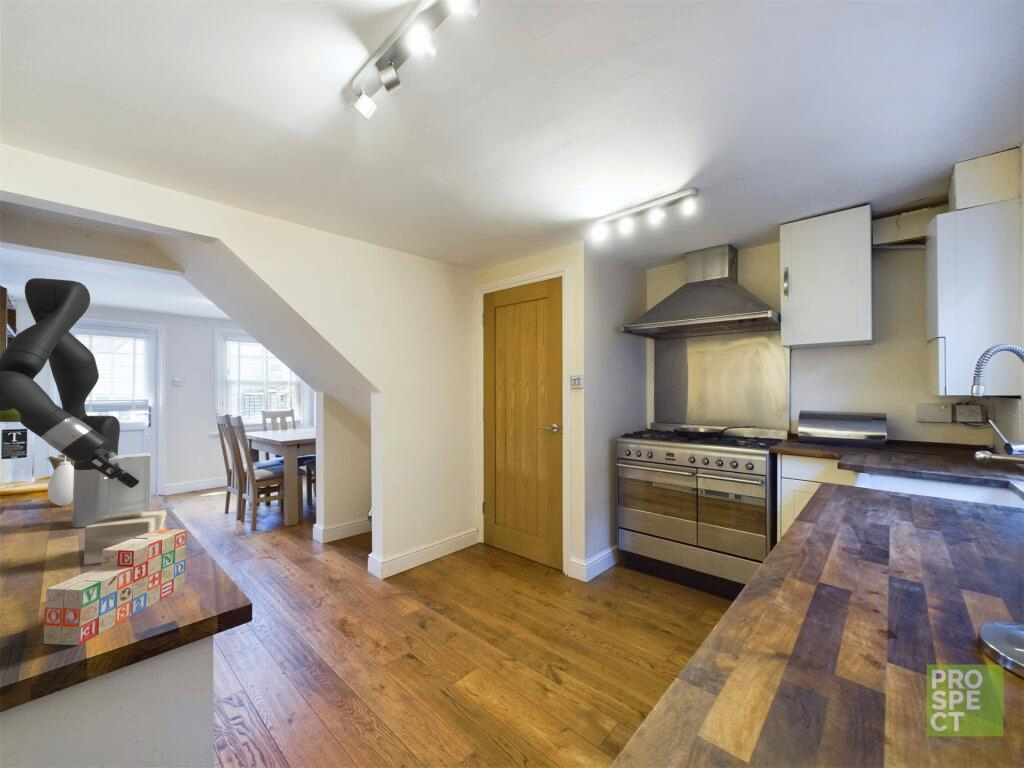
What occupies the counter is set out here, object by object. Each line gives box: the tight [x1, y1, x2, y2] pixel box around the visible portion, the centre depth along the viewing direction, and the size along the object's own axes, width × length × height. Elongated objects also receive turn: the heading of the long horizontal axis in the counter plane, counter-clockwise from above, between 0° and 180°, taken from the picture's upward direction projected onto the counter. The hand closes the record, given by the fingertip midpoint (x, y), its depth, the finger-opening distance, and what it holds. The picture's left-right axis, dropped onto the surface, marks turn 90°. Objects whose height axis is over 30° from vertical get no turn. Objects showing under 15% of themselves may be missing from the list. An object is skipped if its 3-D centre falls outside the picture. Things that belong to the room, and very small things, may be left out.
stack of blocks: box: [43, 528, 188, 646], centre depth 79 cm, size 21×6×12 cm, turn 178°
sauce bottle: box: [47, 455, 74, 507], centre depth 146 cm, size 8×8×18 cm
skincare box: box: [108, 451, 152, 517], centre depth 107 cm, size 8×6×15 cm
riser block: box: [83, 508, 168, 566], centre depth 107 cm, size 12×12×9 cm
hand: (137, 482), depth 108 cm, fingers open, 6 cm apart
